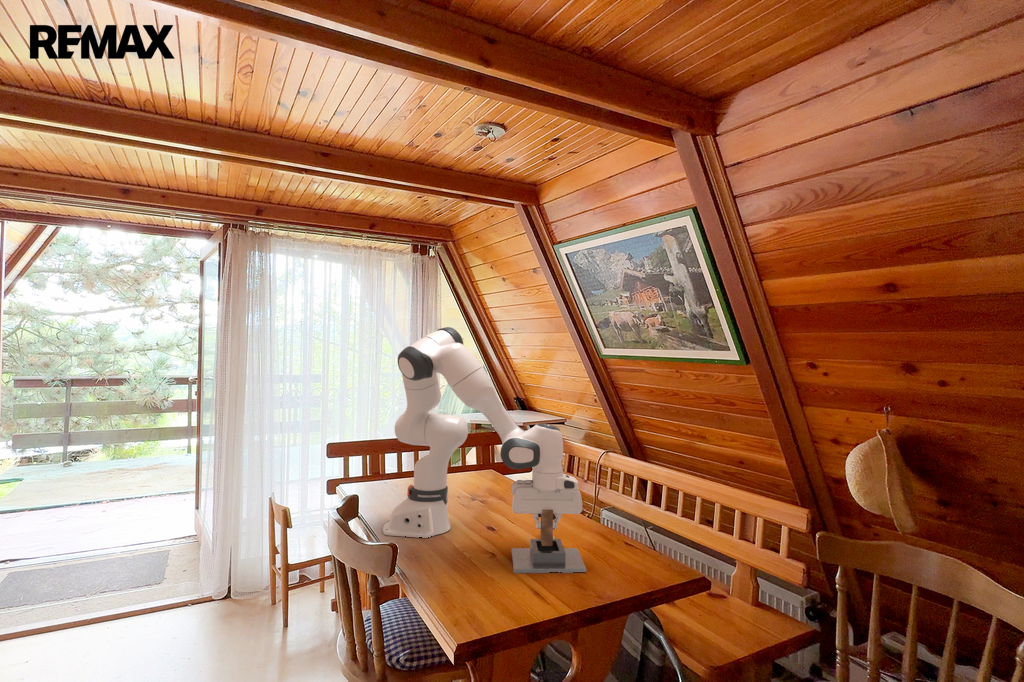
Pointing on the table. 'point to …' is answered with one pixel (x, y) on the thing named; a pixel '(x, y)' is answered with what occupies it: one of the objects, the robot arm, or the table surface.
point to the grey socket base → (547, 558)
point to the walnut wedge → (547, 528)
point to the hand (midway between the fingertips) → (546, 528)
